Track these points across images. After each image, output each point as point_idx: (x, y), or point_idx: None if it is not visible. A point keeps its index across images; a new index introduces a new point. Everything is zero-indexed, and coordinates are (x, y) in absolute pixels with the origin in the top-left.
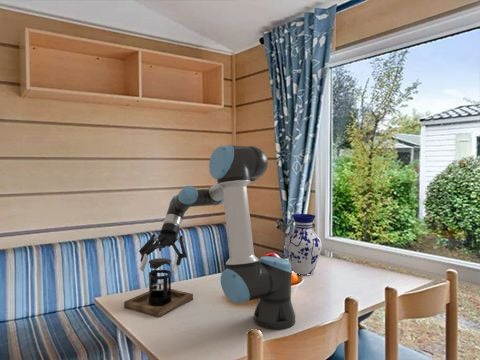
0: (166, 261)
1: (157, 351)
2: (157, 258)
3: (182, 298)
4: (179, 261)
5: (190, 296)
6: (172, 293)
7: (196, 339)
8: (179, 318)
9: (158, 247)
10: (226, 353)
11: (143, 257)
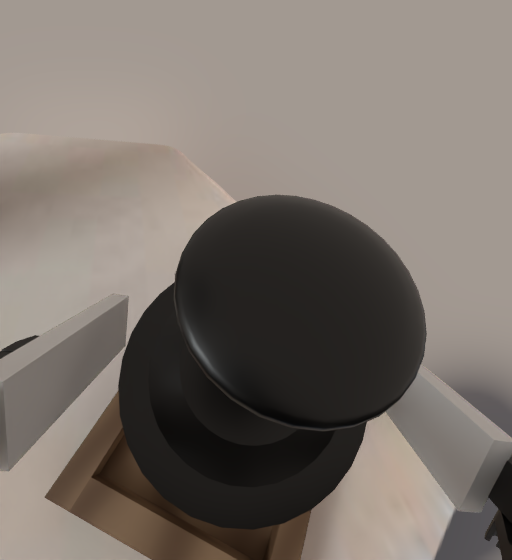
0: (174, 333)
1: (174, 154)
2: (327, 492)
3: (115, 404)
4: (3, 350)
5: (68, 466)
6: (181, 523)
7: (90, 181)
8: (135, 279)
9: (303, 200)
10: (30, 138)
11: (464, 400)
